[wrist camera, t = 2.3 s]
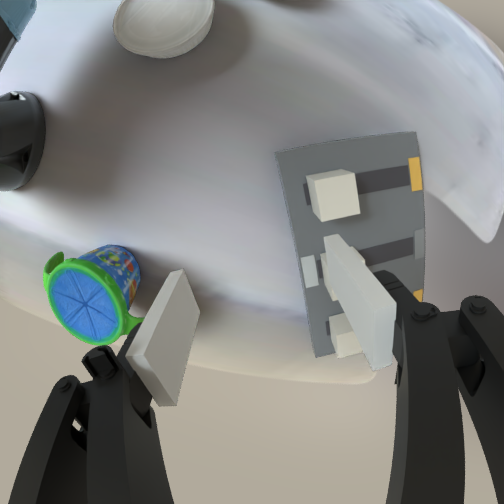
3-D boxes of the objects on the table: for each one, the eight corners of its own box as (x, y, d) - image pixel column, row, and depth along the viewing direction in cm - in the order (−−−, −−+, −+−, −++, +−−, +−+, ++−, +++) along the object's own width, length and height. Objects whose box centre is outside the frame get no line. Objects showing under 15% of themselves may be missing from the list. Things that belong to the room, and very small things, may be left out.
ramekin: (143, -6, 21) (129, -23, 16) (228, -7, 22) (225, -27, 17) (120, 66, 25) (100, 56, 21) (208, 68, 26) (200, 55, 21)
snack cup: (67, 271, 35) (28, 306, 26) (82, 210, 32) (35, 234, 23) (154, 322, 38) (132, 370, 29) (181, 264, 35) (159, 308, 25)
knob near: (312, 211, 30) (321, 221, 26) (305, 175, 28) (314, 180, 25) (347, 204, 29) (360, 213, 26) (341, 168, 28) (354, 173, 24)
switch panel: (312, 347, 40) (315, 358, 38) (274, 152, 30) (276, 152, 28) (413, 317, 39) (420, 326, 36) (406, 131, 28) (416, 131, 26)
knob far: (331, 339, 36) (338, 358, 33) (328, 316, 35) (336, 335, 31) (358, 332, 36) (367, 350, 32) (357, 309, 34) (367, 326, 31)
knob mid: (324, 283, 33) (332, 301, 29) (320, 253, 32) (328, 268, 28) (355, 276, 33) (366, 292, 29) (352, 246, 31) (364, 259, 28)
